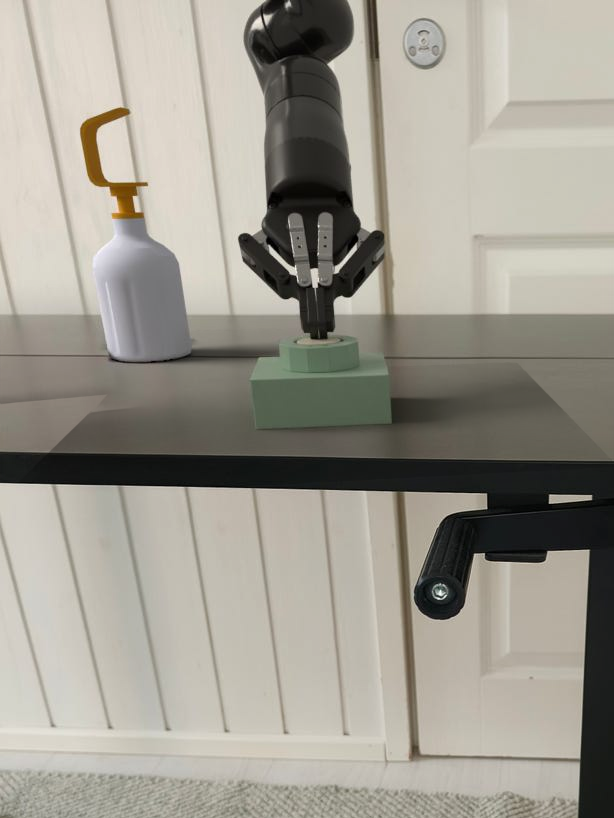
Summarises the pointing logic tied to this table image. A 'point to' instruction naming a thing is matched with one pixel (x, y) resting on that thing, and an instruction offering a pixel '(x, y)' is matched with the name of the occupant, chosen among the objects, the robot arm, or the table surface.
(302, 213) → the robot arm
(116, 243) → the soap bottle
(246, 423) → the table surface
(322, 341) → the cylinder
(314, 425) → the dispenser
